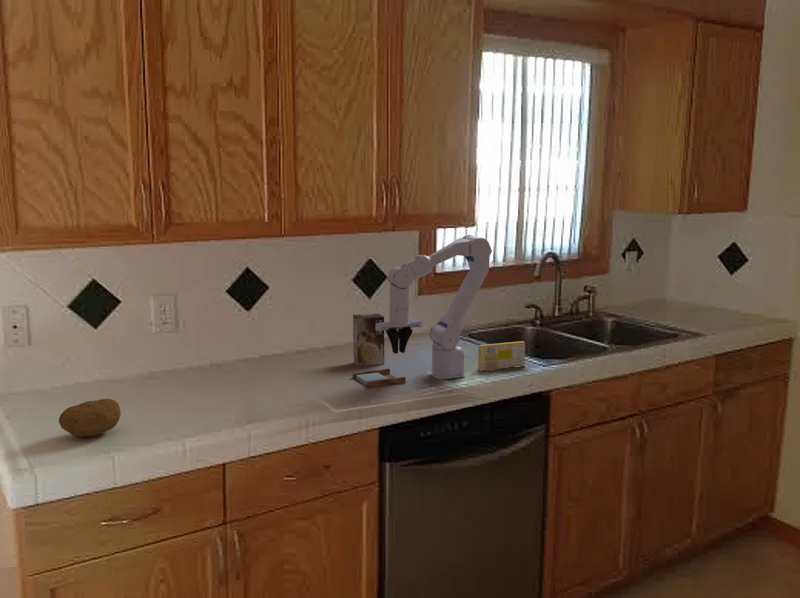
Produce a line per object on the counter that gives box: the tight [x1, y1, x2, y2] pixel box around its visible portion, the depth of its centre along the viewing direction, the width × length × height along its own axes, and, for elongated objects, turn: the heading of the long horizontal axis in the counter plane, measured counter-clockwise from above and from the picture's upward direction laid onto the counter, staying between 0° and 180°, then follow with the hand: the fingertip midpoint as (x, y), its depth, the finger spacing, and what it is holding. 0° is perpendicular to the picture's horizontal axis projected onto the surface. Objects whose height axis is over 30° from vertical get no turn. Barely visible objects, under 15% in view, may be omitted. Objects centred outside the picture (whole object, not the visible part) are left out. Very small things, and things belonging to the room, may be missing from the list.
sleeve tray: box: [352, 367, 407, 389], centre depth 231 cm, size 12×11×2 cm
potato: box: [58, 398, 122, 438], centre depth 183 cm, size 10×14×8 cm
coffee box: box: [352, 313, 385, 367], centre depth 250 cm, size 9×6×16 cm
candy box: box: [477, 340, 526, 372], centre depth 248 cm, size 16×2×8 cm, turn 112°
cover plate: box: [356, 373, 388, 386], centre depth 230 cm, size 7×8×1 cm
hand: (398, 352), depth 232 cm, fingers closed
